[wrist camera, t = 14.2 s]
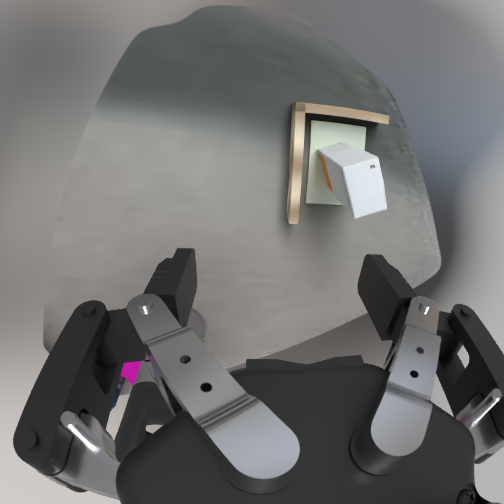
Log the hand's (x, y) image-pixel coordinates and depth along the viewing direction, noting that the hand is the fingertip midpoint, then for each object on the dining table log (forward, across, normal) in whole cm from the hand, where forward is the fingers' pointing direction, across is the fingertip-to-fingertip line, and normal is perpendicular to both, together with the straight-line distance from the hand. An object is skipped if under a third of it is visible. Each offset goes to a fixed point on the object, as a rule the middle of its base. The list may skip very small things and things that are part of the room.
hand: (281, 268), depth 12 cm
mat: (+27, -11, -1) cm, 29 cm away
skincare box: (+27, -10, -1) cm, 29 cm away
